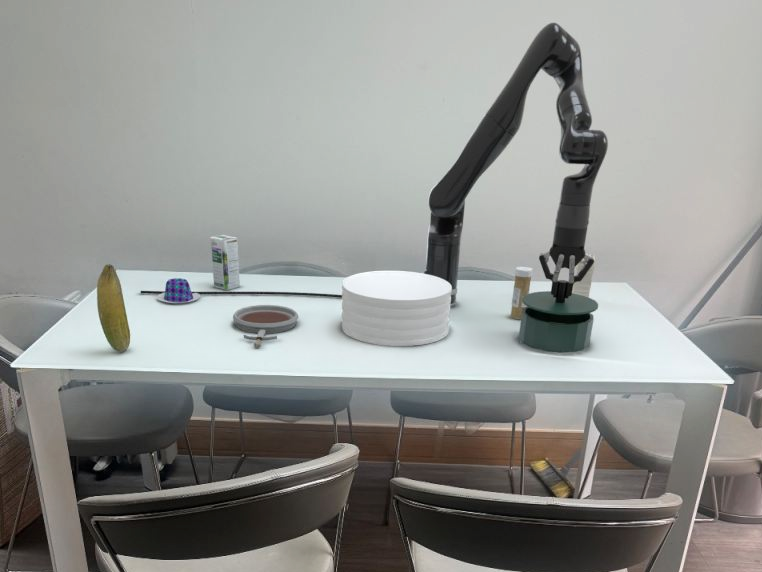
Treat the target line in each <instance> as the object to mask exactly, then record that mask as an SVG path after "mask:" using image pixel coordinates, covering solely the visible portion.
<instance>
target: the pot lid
mask: <svg viewBox="0 0 762 572" xmlns="http://www.w3.org/2000/svg"><path fill="white" fill-rule="evenodd" d="M568 281H569V280H564V279H558V287H557V294H556V298H555V297H553V295H551V290H549V291H545V290H544V291H535V292H529V294H527V295H525V296H524V297H523V298H522V302H523V304H524V305H526V306H527V307H529V308H532V309H534V310H538V311H541V312H546V313H551V314H559V315H580V314H587V313H591V314H592V313H594V312H596V311H597V310H598V309H599V303H598V302H597V301H596V300H594V299H592V298H590V297H589V298H588V297H585V296H582V295H578V294H573V293H572V295H571V296H569V297H568V299H567V298H566V291H567V285H568Z"/></svg>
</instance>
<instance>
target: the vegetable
mask: <svg viewBox="0 0 762 572" xmlns="http://www.w3.org/2000/svg"><path fill="white" fill-rule="evenodd" d="M96 300H97V301H96V306H97V313H98V318H99V322H100V325H101V329H102V332H103V334H104V337H105V338H106V341H107V343H108V344H109V345H110V347H111V348H112V349H113V350H114V351H115V352H119V353H122V352H125V351H127V350H128V349H129V347H130V344H131V330H130V325H129V320H128V315H127V309H126V304H125V300H124V295H123V289H122V284H121V280H120V278H119V276H118V273H117V270H116V268H115V267H114V265H113V264H109V263H108V264H105V265H104V266H103V268H102V271H101V273H100V275H99V277H98V279H97V285H96Z"/></svg>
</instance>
